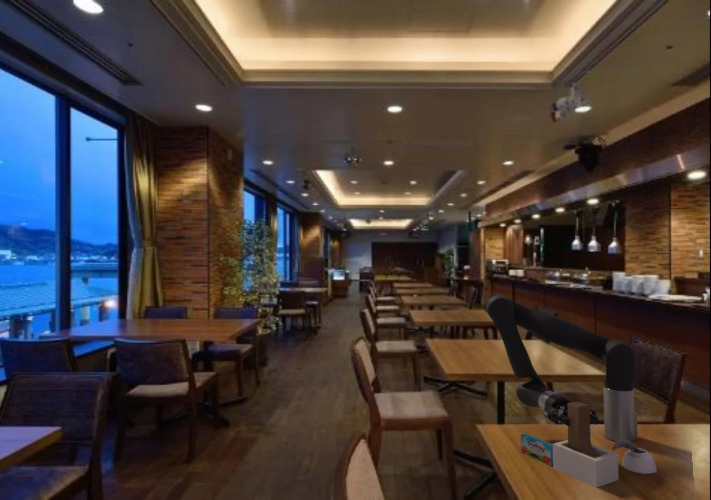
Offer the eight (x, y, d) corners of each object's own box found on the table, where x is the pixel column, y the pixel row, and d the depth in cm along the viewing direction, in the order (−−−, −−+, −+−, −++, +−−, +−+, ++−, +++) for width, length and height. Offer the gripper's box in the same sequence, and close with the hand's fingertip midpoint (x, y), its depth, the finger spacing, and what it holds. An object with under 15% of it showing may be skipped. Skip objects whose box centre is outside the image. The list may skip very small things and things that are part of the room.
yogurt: (554, 465, 153) (554, 445, 153) (551, 466, 152) (550, 446, 152) (524, 451, 163) (524, 432, 163) (521, 452, 163) (520, 433, 163)
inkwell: (663, 469, 149) (662, 435, 149) (631, 485, 139) (630, 449, 139) (631, 458, 157) (630, 426, 157) (599, 473, 146) (598, 439, 146)
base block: (574, 462, 155) (574, 437, 155) (618, 480, 143) (617, 454, 143) (553, 468, 151) (552, 443, 151) (596, 488, 138) (595, 461, 138)
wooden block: (603, 473, 143) (603, 409, 143) (591, 475, 141) (590, 411, 142) (579, 461, 151) (579, 401, 152) (567, 463, 150) (567, 402, 150)
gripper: (533, 394, 163) (559, 410, 147) (575, 392, 164) (605, 407, 148) (534, 418, 163) (560, 436, 147) (575, 415, 164) (606, 433, 148)
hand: (583, 421), depth 148 cm, fingers open, 8 cm apart
